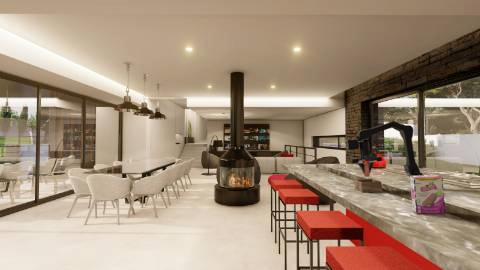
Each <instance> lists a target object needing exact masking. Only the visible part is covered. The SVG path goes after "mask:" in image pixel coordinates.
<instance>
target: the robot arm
mask: <svg viewBox="0 0 480 270" xmlns="http://www.w3.org/2000/svg"><path fill="white" fill-rule="evenodd" d="M389 129H394V131H395V130H396V131H397V132H399V135H400V137H401V139H402V140H403V141H402V142H403V148H404V153H405V158H406V159H405V160H406V164H403V168H404V172H405V173H406V175H407V176H408V177H409V178H410V176H424V174H423V173H422V172H421V170H420V168H419V165H418V164H417V162H416V157H415V151H414V145H413V137H414V127H413V126H412V125H408V124H406V125H405V124H403V123H400V122H397V121H395V120H392V121H389V122H385V123H383V124H381V125H378V126H375V127H371V128H367V129H361V130H358V132H357V136H356V137H355V139H346V149H347V151H356V150H358V149H359V151H358V152H359V158H357V157H354V158H353V157H352V158H351V157H350V158H349V159H348V160H349V164H356V165H358V166H359V168H360V170H361V171H362V173H363V174H364V173H365V171H364V164H365V163H364V162H367V164H369V173H370V174H371V172H372V169H373V165H374V164H376V162H377V163H378V162H383V158H382V157H381V156H378V154H377V152H373V153H372V152H371V150H370V143H372V142H373V141H372V140H371V139H370V137H372V136H373V135H375V134H378V133H380V132H381V133H382V132H384V131H386V130H389Z"/></svg>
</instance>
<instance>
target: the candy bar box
mask: <svg viewBox="0 0 480 270" xmlns="http://www.w3.org/2000/svg"><path fill="white" fill-rule="evenodd" d="M423 175H424V174H423ZM443 180H444V179H443V176H441V175H438V174H436V175H435V174H434V175H433V174H432V175H431V174H430V175H424V176H410V177H409V181H410V191H411V205H412V207H411V208H412V211H413V212H414V213H415V214H417V215H446V206H445V205H446V204H445V203H446V202H445V194H444V181H443Z"/></svg>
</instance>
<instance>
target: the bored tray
mask: <svg viewBox="0 0 480 270" xmlns="http://www.w3.org/2000/svg"><path fill="white" fill-rule="evenodd" d="M353 181H354V189H355V190H357V191H359V192H360V193H375V192H383V186H382V181H380V180H378V179H375V178H364V179H363V178H361V179H360V178H359V179H354V180H353Z"/></svg>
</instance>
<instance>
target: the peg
mask: <svg viewBox="0 0 480 270" xmlns="http://www.w3.org/2000/svg"><path fill="white" fill-rule="evenodd" d="M364 171H365V173H363V177H365V178H367V177H370V176H371V175H370V174H371V172H370V173H369V164H368V163H364Z"/></svg>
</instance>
